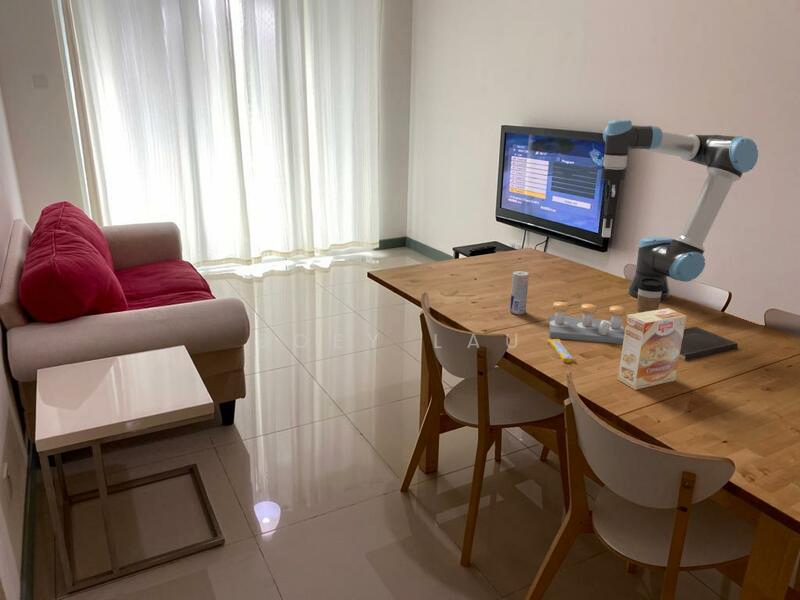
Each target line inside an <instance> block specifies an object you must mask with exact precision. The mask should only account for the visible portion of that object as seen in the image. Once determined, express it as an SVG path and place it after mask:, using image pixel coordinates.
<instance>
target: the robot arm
mask: <svg viewBox="0 0 800 600" xmlns="http://www.w3.org/2000/svg"><path fill="white" fill-rule="evenodd" d="M632 124H633V122H632V120H629V119H611V120H609V121H608V122H607V125H606V127H605V129H604V130H603V132H602V138H603V141H604V142H605V143H604V153H603V154H604V156H603V157H601V161H603V163H602V166H603V167H602V169H601V179H602V180H604V181H607V184H605V187H604V189H605V193H604V209H603V216H602V219H603V222H602V231H601V237H602V238H611V236H612V234H611V233H612V228H613V227H612V225H613V219H614V218H615V209H616V204H617V197H618V194H619V185H618V182H621V181H622V182H623V181H624V180H625V179H626V173H627V172H626V169H625V168H627V164H628V158H629V157H628V156H629V150H639V151H644V152H649V153H650V152H651V153H657V154H664V155H670V156H673V157H674V156H675V157H680V159H682V160H684V161H687V162H688V161H689V162H692V163H696V164H698V165H702V166H705V167H706V171H707V174H708V175H707V177H706V179H705V181H704V182H703V183H704V184H703V185H702V188H701V190H700V192H699V194H698V196H697V198H696V200H695V201H694V204H693V207H692V208H691V210H690V213H689V214H688V216H687V218H686V221H685V222H684V225H683V226H682V229H681V232H680V233H679V235H678V236H676V237H673V238H671V237H663V236H662V237H661V236H650V237H649V236H648V237H644V238H641V240H639V246H638V250H637V251H638V252H637V259H636V267H635V273H634V277H633V278H632V279H631V282H630V283H629V286H628V294H629V295H630V296H631V297H634V298H637V297H638V289H639V288H638V284H639V282H640V280H641V279H643V278H655V279H659V280H661V281H662V282H663V289H664V290H663V291H662V293H661V300H660V301H664V300H668V299H669V297H670V286H669V282H668V277H669V278H671V279H672V280H675V281H679V282H684V283H686V282H691V281H693V280H695V279H696V278H698V277H699V276H700V275H701V274H702V273H703V271H704V269H705V267H706V262H705V261H706V258H705V256H704V253H705V248H704V242H705V240H706V239H707V237H708V235H709V232H710V230H711V228H712V227H713V225H714V222H715V220H716V218H717V216H718V213H719V212H720V210H721V208H722V206H723V204H724V203H725V200H726V198H727V196H728V195H729V191H730V190H731V187H732V186H733V184H734V183H735V182H737V181H740V179H741V178H742V176H743V174H744V173H747V172H750V171H751V170H753V169H754V167H756V164H757V162H758V158H759V150H758V145H757V144H756V142H755V141H754V140H753V139H752V138H749V137H743V136H740V135H739V136H735V135H733V136H731V135H721V134H694V133H691V134H688V135H684V134H677V133H672V132H666V131H663V130H662V129H661V127H659V126H657V125H656V126H655V125H653V126H652V125H635V124H633V125H632Z"/></svg>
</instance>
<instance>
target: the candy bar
mask: <svg viewBox="0 0 800 600" xmlns="http://www.w3.org/2000/svg"><path fill="white" fill-rule="evenodd" d="M547 342H548V343H549V345H550V346H551V348H552V347H553V348H552V349H553V350H554V352H555V353H556V352H557V353H556V354H557V355H558V357H559V358H560V359H561V360H563V361H562V362H563V363H564V362H565V363H564V364H569V363H571V362H572V363H576V362H577V358H574V357H573V356H572V354H570V353H569V351H568V350H567V349H566V347H565V346H564V345H563V343H562V341H561V338H551V339H547Z"/></svg>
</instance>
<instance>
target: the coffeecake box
mask: <svg viewBox="0 0 800 600" xmlns="http://www.w3.org/2000/svg"><path fill="white" fill-rule="evenodd" d="M687 318H688V317H687V315H686V314H683V313H681V312H678V311H677V310H674V309H671V308H668V307H667V308H662V309H658V310H654V311H647V312H641V313H637V312H636V313H630V314H626V321H625V326H624V328H625V334H624V341H623V344H622V348H621V354H620V363H619V369H618V376H617V380H618V381H620V382H621V383H624V384H625V385H627V386H628V387H629V388H631V389H632V390H635V391H636V390H640V389H644V388H645V389H646V388H648V387H653V386H657V385H661V384H666V383H669V382H675V381H676V377H677V371H678V365H679V361H680V358H679V355H680V350H681V344H682V339H683V333H684V329H685V326H686V321H687Z"/></svg>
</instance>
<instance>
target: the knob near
mask: <svg viewBox="0 0 800 600" xmlns="http://www.w3.org/2000/svg"><path fill="white" fill-rule="evenodd" d="M626 312H627V309H626V307H624V306H619V305H611V306H610V307H609V312H608V313H609V314H611V317H610V320H611V324H610V327H611V328H613V329H620V327H621V321H622V320H623V318H622V317H623V316H624V315H626Z"/></svg>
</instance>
